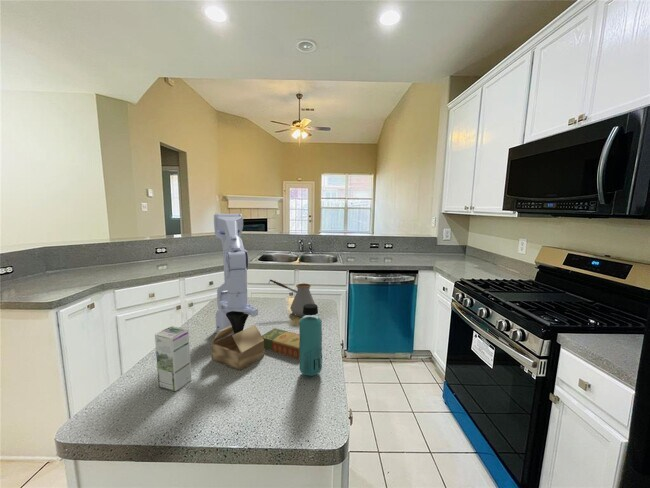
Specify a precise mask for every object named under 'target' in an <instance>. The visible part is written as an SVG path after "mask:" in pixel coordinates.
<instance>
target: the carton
mask: <svg viewBox="0 0 650 488" xmlns="http://www.w3.org/2000/svg"><path fill="white" fill-rule="evenodd" d="M261 336H262V337H263V339H264V350H268V351H271V352H273V353H277V354H281V355H284V356H288V357H289V358H294V359H296V360H299V344H300V336H299V333H295V332H291V331H287V330H283V329H280V328H275V327H274V328H272V329H270V330H269V331H267V332H266V333H264V334H263V335H262V334H261Z"/></svg>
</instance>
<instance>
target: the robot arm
mask: <svg viewBox="0 0 650 488" xmlns="http://www.w3.org/2000/svg"><path fill="white" fill-rule="evenodd" d="M213 227H214V235H215V237H216V238H217V239H220V242H221V244H222V256H223V277H224V279H223V280H224V282H223V284H220V286H219V287H218V288H217V289H216V293H217V294H216V301H217V302H216V303H217V304H216V305H217V310H216V312H215V330H213V331H214V333H216V334H217V333H218V331H219V330H222V329H224V328H226V327H229V326H231V325H232V328H233V331H234V334H236V333H238V332H240V331H242V330H244V329H247V328H246V327H245V325H246V322H247V320H248V318H249V316H250V317H251V318H254V317H256V316H258V315H259V309H258V308H257V307H254V306H252V305H251V304H249V303H248V270H249V265H250V260H249V259H250V258H249V253H248V250H246V249H245V247H244V244H243V243H244V242H243V240H242V237H241V236H242V233H243V229H244V217H243V214H242V213H216V212H215V214H213ZM232 334H233V333H232ZM230 335H231V334H230ZM228 336H229V335H228Z"/></svg>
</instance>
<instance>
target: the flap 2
mask: <svg viewBox="0 0 650 488" xmlns="http://www.w3.org/2000/svg"><path fill="white" fill-rule="evenodd" d="M232 337H233V339H234V341H235V343H236V344H237V346H238V348H239V350H240V352H241V353H242V352H244V351H246V350H248V349H250V348H251V347H253V346H255V345H257V344H258V343H260V342H262V341H264V339H263V337H262V334H261V332H260V330H259V328H258V327H257V325H256V324H253V325H251V326H249V327H247V328H246V329H244V330H242V331H240V332H238V333H236V334H234V335H232Z"/></svg>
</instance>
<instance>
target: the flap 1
mask: <svg viewBox="0 0 650 488" xmlns="http://www.w3.org/2000/svg"><path fill="white" fill-rule="evenodd" d="M232 333H234V331H233V328H232V325H231V326H229V327H226V328H224V329H222V330H219V331H218V333H216V335H215V336H214V338H212V340H211V344H212V343H214V342H216V341H219V340H221V339H223V338H225V337H227V336H228V335H230V334H232Z"/></svg>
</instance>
